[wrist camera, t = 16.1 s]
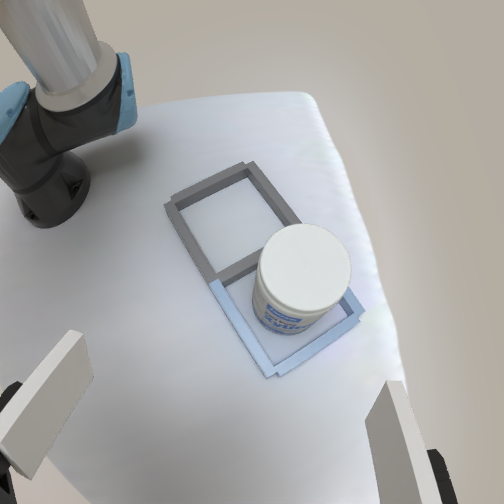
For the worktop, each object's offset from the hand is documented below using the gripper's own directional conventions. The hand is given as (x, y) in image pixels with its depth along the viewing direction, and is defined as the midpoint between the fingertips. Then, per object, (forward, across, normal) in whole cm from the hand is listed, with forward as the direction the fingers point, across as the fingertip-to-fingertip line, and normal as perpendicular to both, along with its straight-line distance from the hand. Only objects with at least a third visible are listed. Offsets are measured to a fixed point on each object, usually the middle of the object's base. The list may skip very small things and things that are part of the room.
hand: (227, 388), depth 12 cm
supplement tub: (+30, +5, -13) cm, 33 cm away
